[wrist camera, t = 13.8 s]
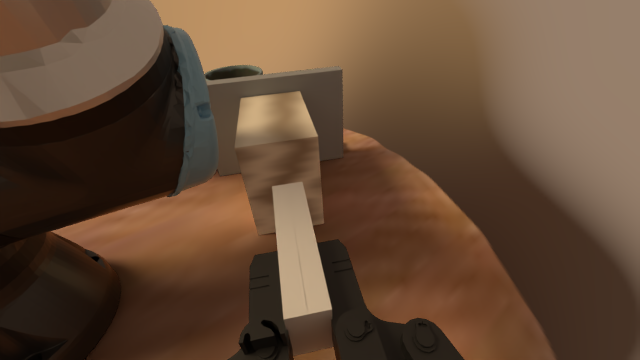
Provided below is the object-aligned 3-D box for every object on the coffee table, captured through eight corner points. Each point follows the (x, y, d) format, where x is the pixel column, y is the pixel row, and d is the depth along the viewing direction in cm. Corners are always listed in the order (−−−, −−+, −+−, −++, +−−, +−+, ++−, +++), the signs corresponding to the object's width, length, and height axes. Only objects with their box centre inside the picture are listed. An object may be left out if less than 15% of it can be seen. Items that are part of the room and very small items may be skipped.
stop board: (220, 176, 44) (190, 87, 36) (222, 159, 48) (196, 76, 40) (343, 157, 46) (342, 69, 38) (336, 143, 50) (334, 61, 42)
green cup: (228, 125, 59) (212, 66, 52) (275, 122, 59) (266, 62, 52) (214, 149, 51) (193, 83, 44) (269, 145, 51) (256, 79, 44)
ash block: (258, 235, 33) (234, 148, 26) (257, 171, 44) (240, 98, 37) (324, 224, 34) (318, 136, 27) (307, 164, 45) (299, 90, 38)
